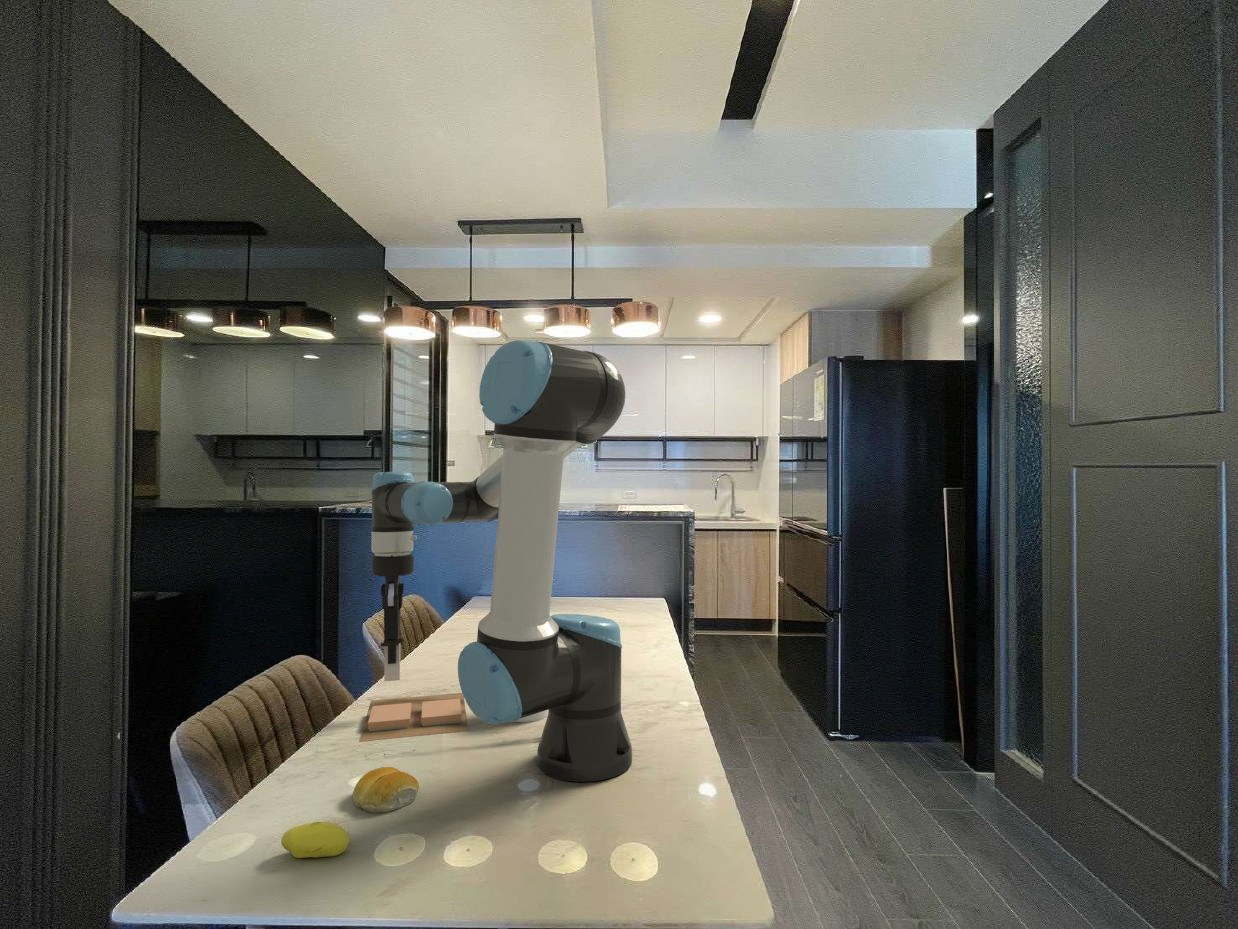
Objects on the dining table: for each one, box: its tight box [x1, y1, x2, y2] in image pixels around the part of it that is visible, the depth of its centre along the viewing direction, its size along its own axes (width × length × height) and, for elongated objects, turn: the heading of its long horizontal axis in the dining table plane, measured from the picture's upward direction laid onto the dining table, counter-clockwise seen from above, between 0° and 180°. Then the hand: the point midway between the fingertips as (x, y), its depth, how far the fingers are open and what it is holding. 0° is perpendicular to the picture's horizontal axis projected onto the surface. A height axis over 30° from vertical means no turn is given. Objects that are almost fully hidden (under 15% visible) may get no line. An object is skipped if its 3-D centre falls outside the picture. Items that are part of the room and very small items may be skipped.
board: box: [359, 692, 469, 743], centre depth 125 cm, size 22×18×1 cm
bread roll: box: [352, 766, 420, 813], centre depth 94 cm, size 8×9×4 cm
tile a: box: [421, 699, 462, 726], centre depth 124 cm, size 2×7×9 cm
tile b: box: [368, 703, 412, 731], centre depth 122 cm, size 2×7×9 cm
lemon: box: [280, 821, 350, 859], centre depth 80 cm, size 4×8×4 cm, turn 87°
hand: (392, 679), depth 125 cm, fingers closed
